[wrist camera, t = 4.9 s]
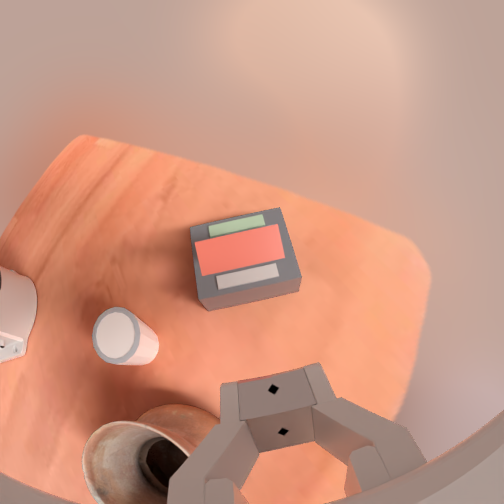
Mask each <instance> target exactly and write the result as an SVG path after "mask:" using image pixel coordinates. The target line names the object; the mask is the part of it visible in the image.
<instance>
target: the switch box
mask: <svg viewBox="0 0 504 504" xmlns="http://www.w3.org/2000/svg"><path fill="white" fill-rule="evenodd" d="M275 224H278V227H279V232H280V236H281V241H282V245H283V250H284V255H285V258H282V259H278V260H273V261H269V262H264V263H260V264H255V265H251V266H246V267H242V268H237V269H232V270H228V271H223V272H219V273H214V274H209V275H205V276H202V273H201V269H200V265H199V260H198V256H197V251H196V247H195V242H198V241H203V240H207V239H212V238H216V237H220V236H225V235H229V234H234V233H238V232H243V231H247V230H252V229H257V228H261V227H266V226H271V225H275ZM190 234H191V243H192V252H193V260H194V269H195V276H196V284H197V291H198V299H199V301H200V302H201V303H202V304H203V306H204V307H205V308H206V309H207V310H208V311H212V310H217V309H222V308H227V307H232V306H236V305H241V304H246V303H250V302H255V301H259V300H264V299H268V298H273V297H277V296H281V295H286V294H290V293H294V292H298V291H299V287H300V283H301V278H302V276H301V273H300V270H299V266H298V263H297V260H296V256H295V253H294V250H293V247H292V243H291V240H290V237H289V234H288V231H287V228H286V224H285V221H284V218H283V215H282V212H281V209H280V207H279V208H274V209H269V210H265V211H260V212H255V213H251V214H246V215H241V216H237V217H232V218H228V219H223V220H219V221H215V222H210V223H206V224H202V225H197V226H193V227H190Z"/></svg>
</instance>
